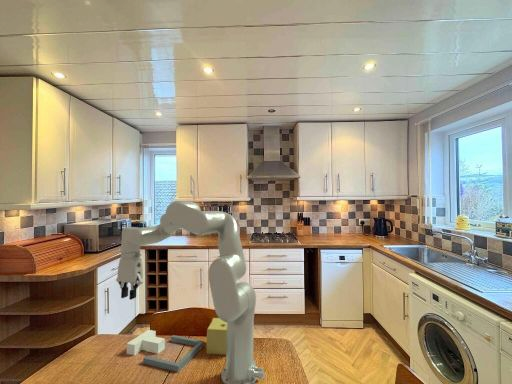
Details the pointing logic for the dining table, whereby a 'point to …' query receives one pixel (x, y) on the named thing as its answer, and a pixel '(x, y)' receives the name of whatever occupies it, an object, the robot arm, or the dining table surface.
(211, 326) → the cheese
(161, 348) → the t block
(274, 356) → the dining table surface
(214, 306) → the robot arm
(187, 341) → the frame
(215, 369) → the dining table surface
